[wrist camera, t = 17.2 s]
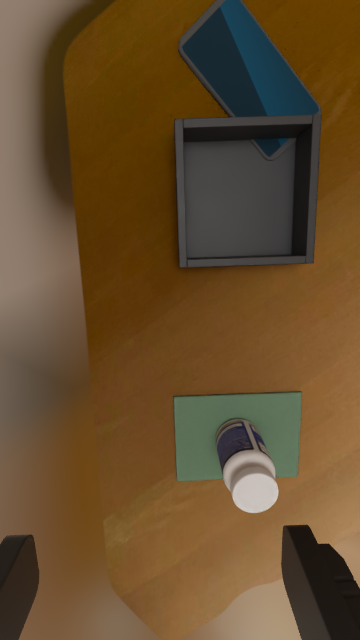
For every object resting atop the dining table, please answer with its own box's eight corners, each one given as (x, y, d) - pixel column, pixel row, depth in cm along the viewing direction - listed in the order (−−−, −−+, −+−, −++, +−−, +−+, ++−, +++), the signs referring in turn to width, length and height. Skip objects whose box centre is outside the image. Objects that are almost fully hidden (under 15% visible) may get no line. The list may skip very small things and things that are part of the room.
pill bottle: (210, 453, 43) (220, 513, 34) (220, 413, 42) (234, 464, 32) (253, 460, 44) (275, 522, 34) (264, 421, 43) (291, 474, 33)
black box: (178, 265, 38) (179, 268, 34) (174, 135, 35) (174, 118, 31) (297, 260, 39) (313, 263, 34) (302, 131, 36) (321, 113, 31)
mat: (177, 479, 45) (177, 481, 44) (173, 395, 42) (173, 397, 42) (296, 474, 45) (297, 476, 44) (300, 391, 42) (302, 392, 42)
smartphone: (267, 167, 37) (269, 165, 36) (173, 49, 34) (173, 44, 33) (322, 115, 36) (326, 112, 35) (229, -10, 33) (231, -18, 32)
